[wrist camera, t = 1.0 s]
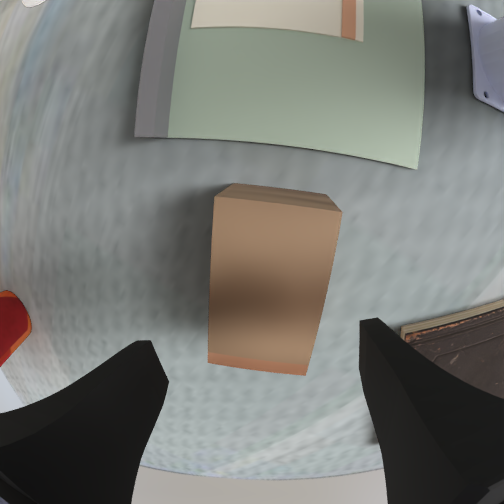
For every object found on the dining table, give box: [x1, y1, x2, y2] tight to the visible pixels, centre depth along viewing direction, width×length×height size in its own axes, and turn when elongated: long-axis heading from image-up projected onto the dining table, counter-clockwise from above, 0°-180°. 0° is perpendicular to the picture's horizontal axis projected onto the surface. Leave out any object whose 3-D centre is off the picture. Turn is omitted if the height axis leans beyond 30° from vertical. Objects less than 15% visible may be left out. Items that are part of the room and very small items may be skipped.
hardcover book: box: [400, 299, 504, 399], centre depth 19 cm, size 16×23×2 cm
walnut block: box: [208, 183, 342, 376], centre depth 16 cm, size 9×5×5 cm, turn 174°
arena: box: [134, 0, 425, 170], centre depth 12 cm, size 16×16×2 cm
